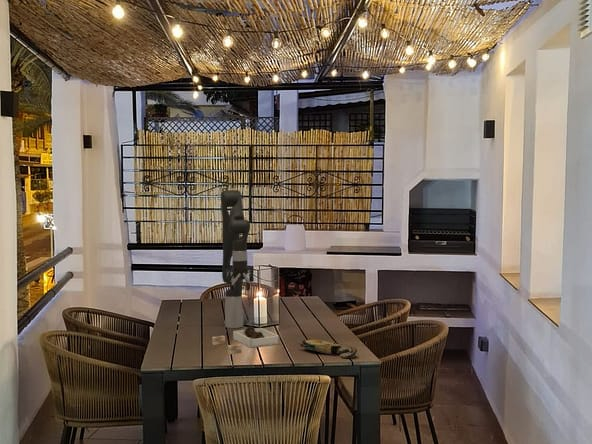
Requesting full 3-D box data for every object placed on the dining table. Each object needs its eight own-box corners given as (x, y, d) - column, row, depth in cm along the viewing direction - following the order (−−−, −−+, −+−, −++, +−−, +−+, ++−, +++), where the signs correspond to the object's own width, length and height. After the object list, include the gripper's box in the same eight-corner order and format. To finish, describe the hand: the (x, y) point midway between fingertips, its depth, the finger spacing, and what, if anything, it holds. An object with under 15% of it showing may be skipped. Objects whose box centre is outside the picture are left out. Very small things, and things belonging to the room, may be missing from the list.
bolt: (261, 346, 296) (247, 338, 309) (269, 340, 298) (255, 333, 311) (255, 337, 294) (242, 329, 307) (264, 331, 296) (250, 324, 309)
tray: (260, 335, 315) (260, 327, 314) (279, 344, 297) (279, 336, 297) (232, 338, 307) (232, 331, 307) (250, 348, 289) (250, 339, 289)
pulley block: (346, 347, 266) (295, 336, 287) (344, 360, 266) (294, 348, 286) (364, 346, 277) (314, 336, 297) (363, 359, 276) (313, 348, 297)
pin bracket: (223, 342, 299) (223, 335, 299) (241, 352, 281) (241, 345, 281) (212, 344, 296) (212, 336, 296) (229, 354, 278) (229, 346, 278)
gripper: (249, 257, 311) (249, 288, 312) (223, 259, 304) (224, 291, 305) (255, 259, 305) (256, 291, 306) (230, 261, 297) (230, 294, 298)
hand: (240, 291), depth 305 cm, fingers open, 8 cm apart
